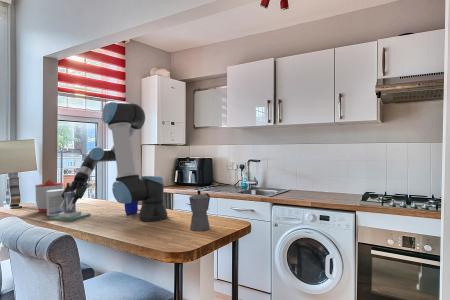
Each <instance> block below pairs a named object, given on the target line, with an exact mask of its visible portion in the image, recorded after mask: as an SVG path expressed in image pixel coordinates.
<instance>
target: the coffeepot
mask: <svg viewBox="0 0 450 300" xmlns="http://www.w3.org/2000/svg"><path fill="white" fill-rule="evenodd" d="M196 191H197V194H193V195H190V196H189V197H188V199H189V206H190V211H191V213H192V215H191V220H190V228H189V229H190V231H193V232H206V231H208V230H210V227H211V226H210V223H209V216H208V214H207V213H208V212H207V211H208V210H209V206H210V201H211V196H210V194H209V193H203V194H201V190H199V189H198V190H196Z"/></svg>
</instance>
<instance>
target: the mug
mask: <svg viewBox="0 0 450 300" xmlns="http://www.w3.org/2000/svg"><path fill="white" fill-rule="evenodd" d="M140 210H141V208H140V209H139V201H138V202H131V203H124V212H125V214H126V215H135V214H137V213H138V212H140Z"/></svg>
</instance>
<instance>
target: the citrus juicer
mask: <svg viewBox="0 0 450 300" xmlns="http://www.w3.org/2000/svg"><path fill="white" fill-rule="evenodd" d="M34 187H35V201H36V202H35V204H36V208H37V210H38V211H39V212H40V213H42V214H43V213H44V214H45V213H46V214H47V206H46V191H49V190H58V189H63V190H64V183H62V182H54V181H52V179H48V180H47V181H45V183H40V184H35V185H34Z"/></svg>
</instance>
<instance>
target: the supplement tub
mask: <svg viewBox="0 0 450 300" xmlns="http://www.w3.org/2000/svg"><path fill="white" fill-rule="evenodd" d="M64 190H65V189H64V188H63V189H58V190H49V191H46V206H47V212H46V216H48V217H53V216H57V215H59V213H62V212H65V209H63V210H62V209H61V208H60V205H61V202H62V200H63V197H62V196H61V195H62V194H63V192H64Z"/></svg>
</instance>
